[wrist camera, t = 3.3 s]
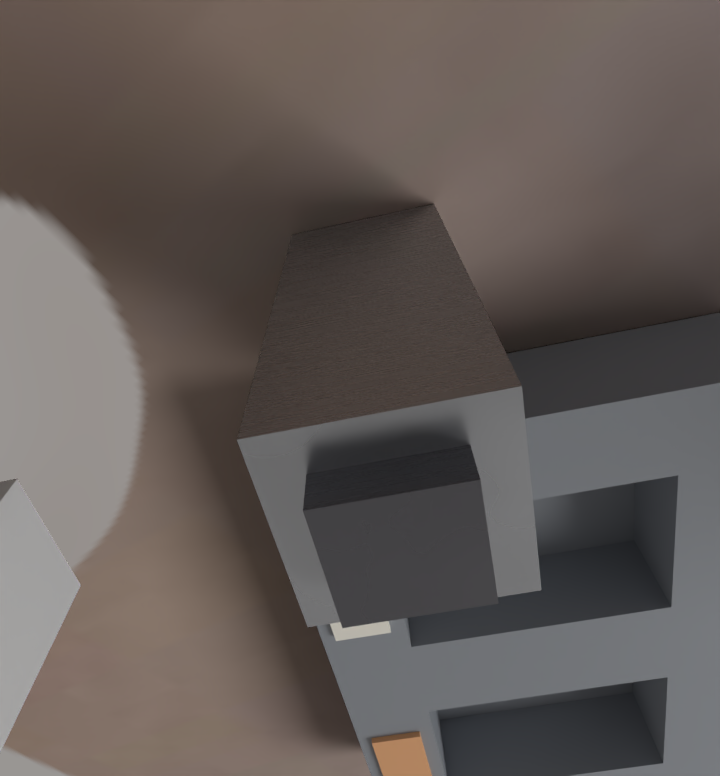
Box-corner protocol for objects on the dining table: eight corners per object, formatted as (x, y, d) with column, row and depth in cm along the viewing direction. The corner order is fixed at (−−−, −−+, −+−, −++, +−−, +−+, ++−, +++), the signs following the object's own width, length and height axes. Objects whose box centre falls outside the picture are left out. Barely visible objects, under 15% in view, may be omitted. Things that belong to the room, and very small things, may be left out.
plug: (292, 234, 17) (227, 475, 8) (434, 203, 17) (537, 417, 8) (326, 359, 19) (305, 668, 10) (453, 334, 19) (554, 630, 10)
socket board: (272, 398, 20) (257, 472, 17) (723, 311, 19) (802, 372, 16) (388, 750, 30) (393, 839, 27) (690, 708, 29) (734, 797, 25)
